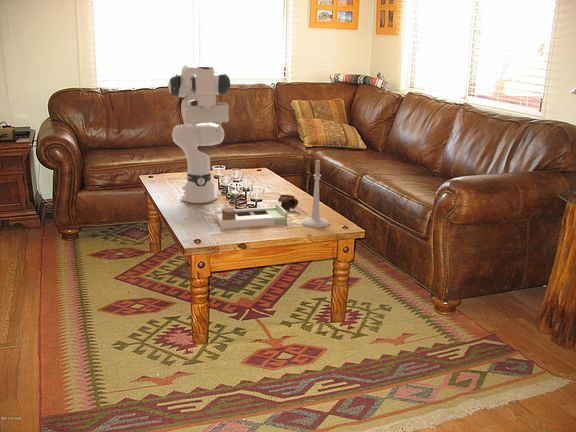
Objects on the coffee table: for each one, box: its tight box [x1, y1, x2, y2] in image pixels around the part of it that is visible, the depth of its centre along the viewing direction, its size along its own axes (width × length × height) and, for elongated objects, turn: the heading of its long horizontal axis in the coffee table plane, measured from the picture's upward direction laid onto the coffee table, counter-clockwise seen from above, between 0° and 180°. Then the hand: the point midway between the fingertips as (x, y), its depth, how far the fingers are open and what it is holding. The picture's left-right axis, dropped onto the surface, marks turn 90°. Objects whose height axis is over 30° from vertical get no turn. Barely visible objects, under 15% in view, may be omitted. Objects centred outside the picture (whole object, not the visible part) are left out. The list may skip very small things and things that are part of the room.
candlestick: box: [300, 159, 330, 229], centre depth 280 cm, size 13×13×30 cm
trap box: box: [214, 202, 288, 230], centre depth 284 cm, size 16×30×6 cm, turn 107°
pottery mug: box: [277, 194, 299, 212], centre depth 305 cm, size 12×10×8 cm
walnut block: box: [221, 207, 236, 220], centre depth 278 cm, size 5×5×4 cm
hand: (207, 132), depth 282 cm, fingers open, 8 cm apart
